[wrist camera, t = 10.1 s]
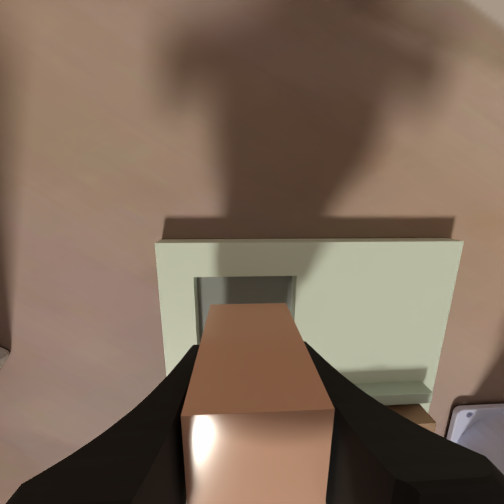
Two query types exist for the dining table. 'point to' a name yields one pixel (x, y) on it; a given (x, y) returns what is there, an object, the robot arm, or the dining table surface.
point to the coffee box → (3, 355)
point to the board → (324, 301)
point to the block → (255, 412)
